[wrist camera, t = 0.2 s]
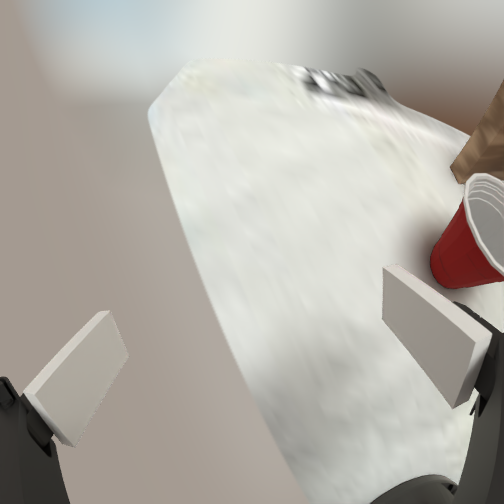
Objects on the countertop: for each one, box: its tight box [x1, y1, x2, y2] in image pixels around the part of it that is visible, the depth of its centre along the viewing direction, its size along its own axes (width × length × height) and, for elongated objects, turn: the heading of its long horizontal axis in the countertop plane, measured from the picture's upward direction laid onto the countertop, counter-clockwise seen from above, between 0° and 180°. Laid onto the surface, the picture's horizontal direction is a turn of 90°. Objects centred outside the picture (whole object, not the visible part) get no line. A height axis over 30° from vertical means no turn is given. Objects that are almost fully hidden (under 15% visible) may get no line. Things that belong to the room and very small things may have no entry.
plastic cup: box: [430, 173, 504, 289], centre depth 21 cm, size 11×11×12 cm
